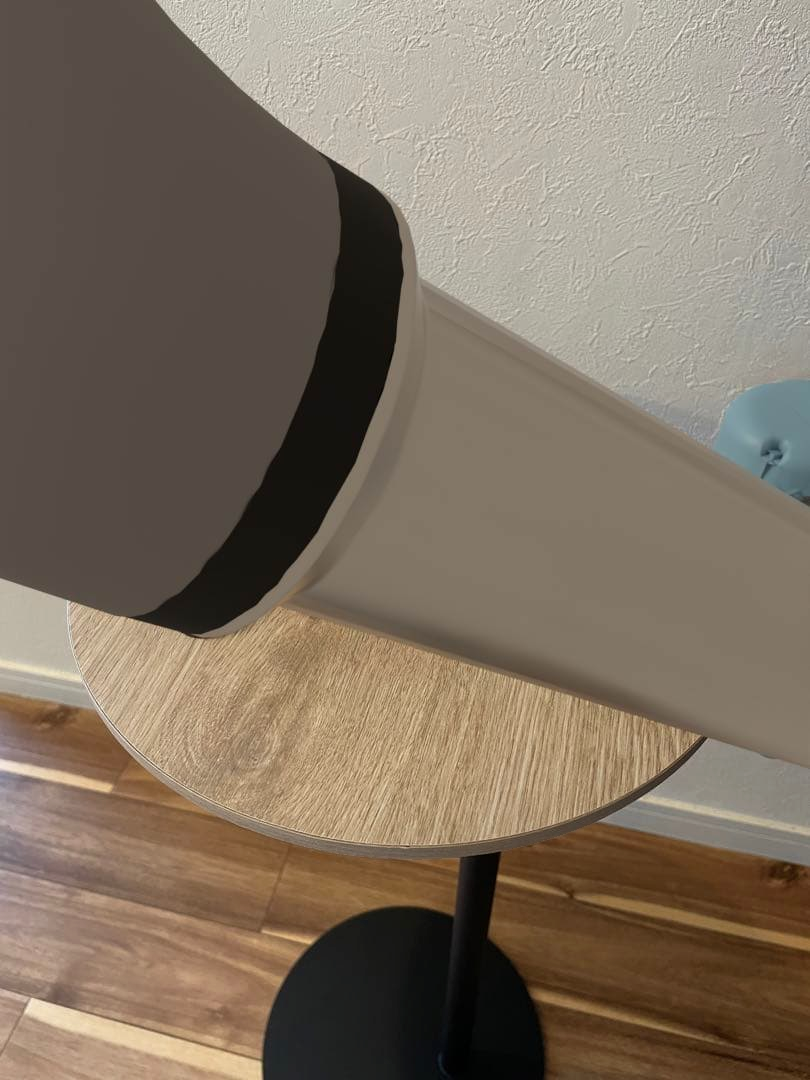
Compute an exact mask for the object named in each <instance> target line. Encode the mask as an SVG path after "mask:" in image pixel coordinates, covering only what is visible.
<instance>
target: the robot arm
mask: <svg viewBox="0 0 810 1080" xmlns="http://www.w3.org/2000/svg"><path fill="white" fill-rule="evenodd" d="M405 217H406V216H405V215H404V213H403V211H402V209H401V207H400V206H398V204H397V203H396V202H395V201H394V200H393V199H392V198H391V197H390V195H388V194H386V193H385V192H383V191H382V190H380V189H379V188H378V187H376V186H375V185H373V183H370V182H369V181H367V180H366V179H364V178H363V177H361V176H359V175H357V174H356V173H354V172H353V171H352V170H350V169H348V168H347V167H345V166H344V165H342V164H340V163H339V162H338V161H336V160H334V159H332V158H330V157H329V156H328V155H326V154H325V153H323V152H321V151H320V150H318V149H317V148H315V147H314V146H313V145H311V144H310V143H309V142H308V141H306V140H305V139H303V138H302V137H301V136H299V135H298V134H296V133H295V132H294V131H292V129H290V128H289V127H287V126H286V125H285V124H284V123H282V122H281V121H280V120H278V119H277V118H276V117H275V116H274V115H272V114H271V113H270V112H269V111H268V110H267V109H265V108H264V107H263V106H261V104H259V102H257V101H256V100H255V99H254V98H253V97H252V96H250V95H249V94H247V93H246V92H245V91H244V90H243V89H241V87H239V86H238V85H237V84H236V83H235V82H234V81H233V79H231V78H230V77H229V76H228V75H227V74H226V73H225V72H224V71H223V70H222V69H221V68H220V67H219V66H218V65H217V64H216V63H215V62H214V61H213V60H212V59H211V58H210V57H209V56H208V55H207V54H206V53H205V52H204V51H203V50H202V49H201V48H200V47H198V45H197V44H196V43H195V42H194V41H193V40H192V39H191V38H190V37H189V36H188V35H187V34H186V33H185V32H184V31H183V30H182V29H180V27H178V26H177V24H176V23H175V21H173V19H171V17H170V16H169V15H168V14H167V12H166V11H165V10H164V9H163V7H161V5H160V4H159V2H158V1H157V0H0V579H1V580H4V581H7V582H11V583H13V584H16V585H19V586H23V587H24V588H25V587H26V588H29V589H31V590H34V591H38V592H41V593H44V594H47V595H50V596H53V597H56V598H60V599H62V600H65V601H68V602H72V603H75V604H78V605H81V606H84V607H86V608H90V609H93V610H96V611H98V612H103V613H105V614H108V615H111V616H115V617H121V618H127V619H130V620H134V621H137V622H141V623H145V624H149V625H153V626H157V627H160V628H164V629H168V630H171V631H174V632H178V633H180V634H183V633H184V634H183V635H185V634H192V635H195V636H199V637H202V638H205V637H212V638H221V637H223V636H227V635H230V634H234V633H236V632H238V631H240V630H242V629H243V628H245V627H247V626H249V625H250V624H252V623H254V622H256V621H258V620H260V619H261V618H263V617H264V616H265V615H267V614H268V613H270V612H271V611H273V610H274V609H275V608H277V607H279V608H282V609H285V610H289V611H292V612H295V613H299V614H302V615H305V616H308V617H312V618H314V619H318V620H322V621H325V622H328V623H331V624H334V625H338V626H341V627H345V628H347V629H351V630H354V631H358V632H360V633H364V634H368V635H370V636H373V637H377V638H381V639H383V640H387V641H391V642H394V643H397V644H400V645H403V646H407V647H410V648H413V649H416V650H420V651H423V652H426V653H430V654H433V655H436V656H440V657H442V658H446V659H449V660H452V661H456V662H459V663H462V664H465V665H468V666H472V667H476V668H479V669H481V670H485V671H488V672H492V673H494V674H498V675H502V676H503V677H507V678H511V679H514V680H518V681H521V682H524V683H526V684H527V683H528V684H531V685H534V686H538V687H541V688H544V689H547V690H551V691H554V692H557V693H560V694H563V695H567V696H570V697H574V698H577V699H580V700H583V701H587V702H590V703H593V704H595V705H599V706H603V707H606V708H610V709H613V710H616V711H618V712H619V711H620V712H623V713H624V714H625V713H626V714H629V715H633V716H635V717H639V718H641V719H645V720H649V721H652V722H655V723H659V724H661V725H665V726H668V727H672V728H675V729H678V730H680V731H685V732H688V733H691V734H694V735H698V736H701V737H704V738H708V739H711V740H714V741H717V742H720V743H724V744H727V745H730V746H734V747H737V748H740V749H744V750H746V751H750V752H753V753H757V754H758V755H760V756H762V757H763V758H766V759H769V760H779V761H783V762H786V763H789V764H793V765H796V766H799V767H802V768H806V769H808V770H810V379H795V378H793V379H784V380H781V381H778V382H765V383H761V384H758V385H755V386H753V387H750V388H748V389H746V390H745V391H743V392H742V393H740V394H739V395H738V396H737V397H735V399H734V400H733V401H732V402H731V403H730V404H729V406H728V407H727V409H726V411H725V414H724V415H723V419H722V421H721V423H720V424H721V425H720V426H719V431H718V434H717V435H716V439H715V442H714V445H713V447H712V448H711V447H709V446H707V445H705V444H703V443H702V442H700V441H699V440H697V439H696V438H693V437H692V436H690V435H689V434H687V433H685V432H683V431H681V430H680V429H678V428H677V427H675V426H674V425H671V424H670V423H669V422H667V421H665V420H663V419H661V418H660V417H658V416H656V415H654V414H653V413H651V412H650V411H648V410H646V409H644V408H643V407H641V406H639V405H637V404H636V403H635V402H633V401H632V400H631V401H630V400H629V399H627V398H626V397H624V396H622V394H619V393H617V392H615V391H614V390H612V389H610V388H609V387H607V386H605V385H603V384H602V383H601V382H598V381H597V380H595V379H594V378H592V377H591V376H589V375H587V374H585V373H584V372H582V371H580V370H579V369H577V368H575V367H573V366H572V365H569V364H568V363H566V362H565V361H563V360H561V359H559V357H556V356H554V355H553V354H551V353H549V352H548V351H546V350H545V349H543V348H541V347H539V346H537V345H536V344H534V343H533V342H531V341H530V340H527V338H524V337H523V336H521V335H519V334H517V333H515V332H514V331H512V330H510V329H509V328H507V327H505V326H503V325H502V324H500V323H499V322H497V321H496V320H494V319H492V318H491V317H488V316H487V315H486V314H483V313H482V312H480V311H479V310H476V309H475V308H474V307H471V306H470V305H469V304H466V303H465V302H463V301H462V300H459V299H458V298H456V297H455V296H453V295H451V294H450V293H448V292H446V291H444V290H443V289H441V288H439V287H438V286H436V285H434V284H433V283H431V282H430V281H427V280H426V279H424V278H423V277H421V276H420V274H419V269H418V261H417V255H416V249H415V244H414V240H413V235H412V232H411V228H410V225H409V223H408V221H407V219H406V218H405ZM205 639H206V638H205Z"/></svg>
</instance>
